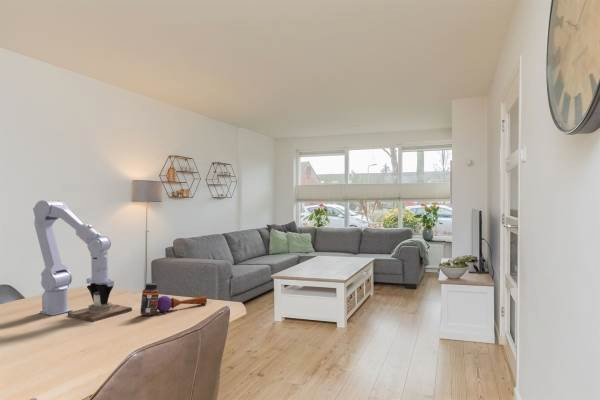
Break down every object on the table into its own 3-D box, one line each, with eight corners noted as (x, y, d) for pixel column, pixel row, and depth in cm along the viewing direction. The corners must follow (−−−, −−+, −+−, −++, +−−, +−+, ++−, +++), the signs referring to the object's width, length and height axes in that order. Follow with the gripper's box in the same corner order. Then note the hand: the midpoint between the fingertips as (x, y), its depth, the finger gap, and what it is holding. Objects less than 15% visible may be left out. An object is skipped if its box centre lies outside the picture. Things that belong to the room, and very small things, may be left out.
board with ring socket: (67, 315, 150) (67, 307, 150) (106, 305, 164) (106, 298, 164) (93, 321, 142) (92, 312, 142) (131, 310, 156) (131, 302, 156)
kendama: (208, 295, 161) (159, 299, 149) (207, 309, 162) (157, 315, 150) (203, 290, 166) (154, 294, 154) (201, 304, 166) (153, 308, 155)
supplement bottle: (151, 316, 146) (153, 285, 147) (136, 314, 147) (139, 283, 148) (160, 313, 151) (162, 283, 152) (146, 311, 153) (148, 282, 154)
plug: (91, 308, 152) (90, 293, 152) (102, 305, 156) (101, 290, 156) (98, 309, 150) (98, 294, 150) (109, 306, 153) (108, 291, 153)
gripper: (78, 268, 153) (79, 303, 153) (101, 271, 146) (102, 308, 146) (96, 265, 159) (96, 299, 159) (118, 268, 152) (119, 303, 152)
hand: (100, 303), depth 153 cm, fingers closed on plug, 4 cm apart
